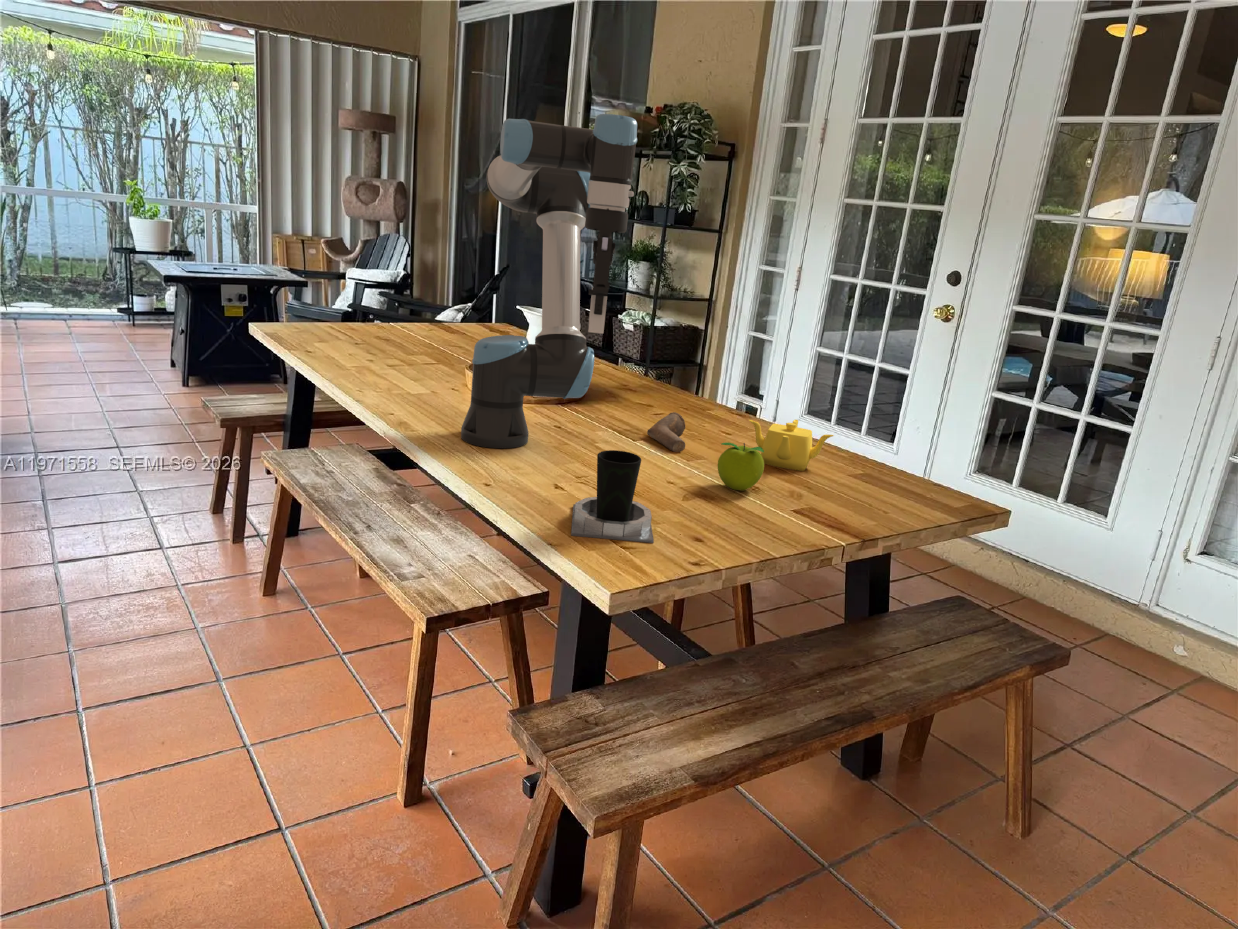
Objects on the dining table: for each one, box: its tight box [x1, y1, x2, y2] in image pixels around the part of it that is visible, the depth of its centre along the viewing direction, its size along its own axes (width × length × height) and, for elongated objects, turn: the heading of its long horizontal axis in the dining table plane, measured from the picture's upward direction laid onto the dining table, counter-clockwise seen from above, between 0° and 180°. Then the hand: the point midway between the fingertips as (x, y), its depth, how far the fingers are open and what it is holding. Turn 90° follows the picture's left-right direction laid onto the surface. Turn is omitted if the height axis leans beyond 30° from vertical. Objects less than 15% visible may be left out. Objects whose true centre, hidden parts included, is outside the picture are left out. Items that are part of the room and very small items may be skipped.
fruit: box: [717, 442, 765, 492], centre depth 174 cm, size 9×9×10 cm
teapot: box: [748, 419, 835, 472], centre depth 197 cm, size 15×14×10 cm
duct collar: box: [570, 496, 655, 544], centre depth 148 cm, size 14×14×3 cm
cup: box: [596, 449, 642, 522], centre depth 147 cm, size 8×8×12 cm
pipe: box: [646, 412, 686, 453], centre depth 204 cm, size 6×17×10 cm
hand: (595, 327), depth 156 cm, fingers open, 13 cm apart
